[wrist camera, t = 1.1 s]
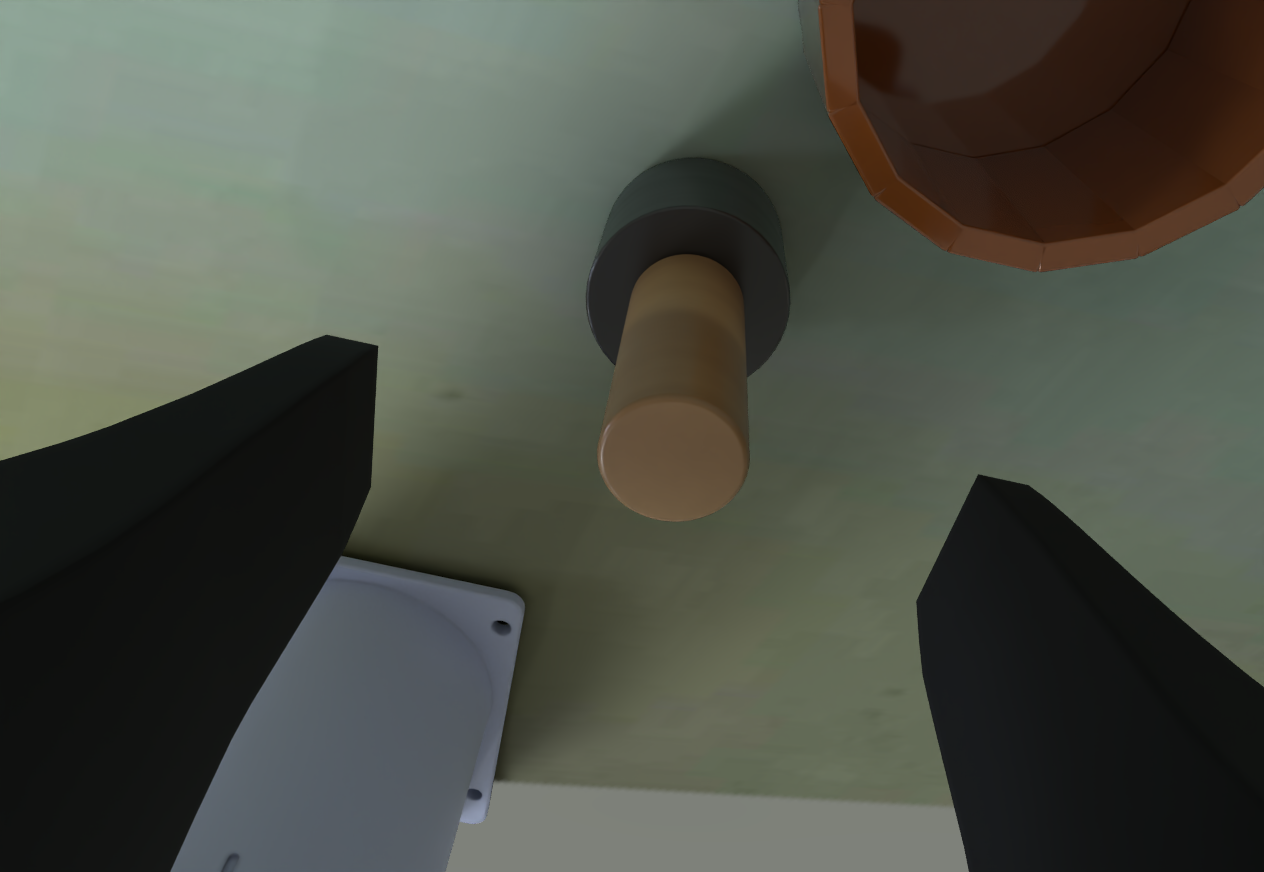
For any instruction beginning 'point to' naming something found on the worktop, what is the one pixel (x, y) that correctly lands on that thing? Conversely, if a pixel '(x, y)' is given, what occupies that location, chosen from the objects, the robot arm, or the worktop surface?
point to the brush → (684, 332)
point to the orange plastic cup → (1046, 118)
